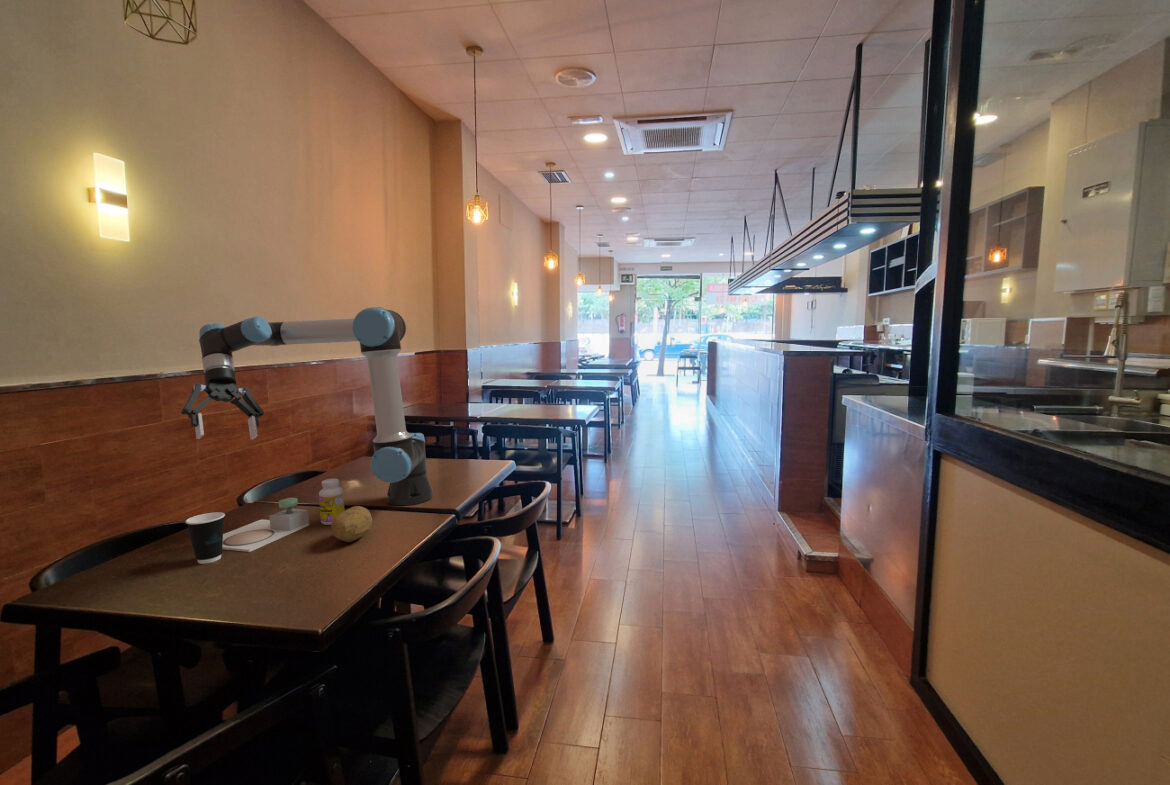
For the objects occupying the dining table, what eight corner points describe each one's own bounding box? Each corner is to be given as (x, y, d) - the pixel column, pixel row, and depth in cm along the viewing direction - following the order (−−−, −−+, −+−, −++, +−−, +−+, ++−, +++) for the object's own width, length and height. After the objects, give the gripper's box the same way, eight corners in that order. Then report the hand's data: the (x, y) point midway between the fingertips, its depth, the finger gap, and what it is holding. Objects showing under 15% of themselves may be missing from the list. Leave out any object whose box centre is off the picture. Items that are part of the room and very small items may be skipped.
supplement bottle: (315, 524, 152) (312, 482, 151) (334, 517, 158) (331, 476, 157) (332, 526, 150) (329, 484, 148) (350, 519, 156) (347, 478, 155)
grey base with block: (310, 524, 152) (309, 509, 152) (249, 551, 132) (248, 534, 132) (262, 520, 157) (261, 506, 156) (196, 546, 137) (195, 530, 137)
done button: (302, 518, 151) (301, 498, 151) (289, 523, 146) (287, 503, 146) (289, 517, 152) (288, 497, 152) (276, 522, 148) (274, 502, 147)
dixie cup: (201, 554, 131) (197, 513, 130) (234, 551, 133) (231, 511, 132) (182, 567, 124) (177, 524, 122) (218, 564, 125) (214, 521, 124)
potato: (322, 550, 132) (319, 520, 131) (345, 530, 146) (343, 503, 145) (359, 548, 132) (357, 519, 132) (379, 529, 146) (377, 502, 146)
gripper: (258, 382, 163) (268, 443, 156) (162, 373, 142) (169, 442, 135) (270, 371, 159) (280, 432, 153) (173, 360, 138) (181, 430, 132)
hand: (228, 437), depth 144 cm, fingers open, 13 cm apart
